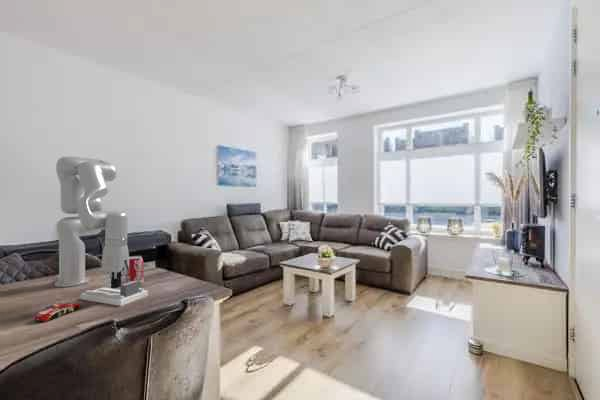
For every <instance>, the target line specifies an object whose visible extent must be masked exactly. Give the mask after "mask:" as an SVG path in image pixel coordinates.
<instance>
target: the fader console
mask: <svg viewBox="0 0 600 400" xmlns="http://www.w3.org/2000/svg"><path fill="white" fill-rule="evenodd" d="M148 296H149V290H145V288H141V287H139V292H138V293H135V294H133V295H130V296H127V297H124V296H122V295H120V287H118V288H115V289H113V288H111V283H108V284H106V286H103V287H99V288H97V289H94V290H89V289H88V290H85V291H84V292H83V293H80V300H84V301H85V300H86V301H90V302H94V303H95V302H96V303H102V304H108V305H114V306H120V307H122V306H125V305H127V304H130V303H132V302H133V303H134V302H136V301H137V300H141V299H143V298H146V297H148Z"/></svg>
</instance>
